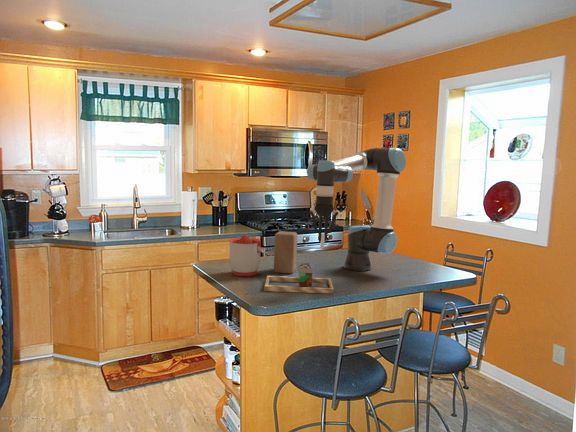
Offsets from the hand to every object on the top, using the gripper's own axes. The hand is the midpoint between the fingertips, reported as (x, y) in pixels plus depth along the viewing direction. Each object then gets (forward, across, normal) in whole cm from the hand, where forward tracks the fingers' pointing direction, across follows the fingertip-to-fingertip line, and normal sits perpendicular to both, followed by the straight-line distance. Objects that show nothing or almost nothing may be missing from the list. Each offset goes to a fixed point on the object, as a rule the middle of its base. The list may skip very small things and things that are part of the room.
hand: (322, 248), depth 201 cm
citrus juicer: (+18, +36, -19) cm, 45 cm away
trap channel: (+18, +10, 0) cm, 21 cm away
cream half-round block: (+18, +8, 0) cm, 20 cm away
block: (+18, +17, -28) cm, 38 cm away
